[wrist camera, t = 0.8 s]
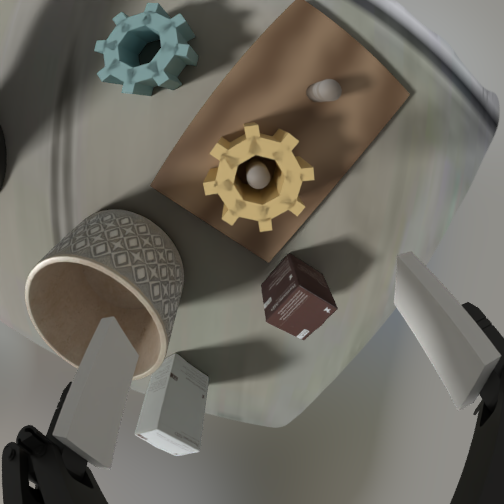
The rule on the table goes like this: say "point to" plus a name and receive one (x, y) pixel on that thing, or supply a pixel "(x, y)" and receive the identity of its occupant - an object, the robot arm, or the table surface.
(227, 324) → the table surface
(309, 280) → the box
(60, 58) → the table surface
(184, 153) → the gear board
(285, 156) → the gear out
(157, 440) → the skincare box
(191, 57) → the gear
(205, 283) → the table surface
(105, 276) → the planter
